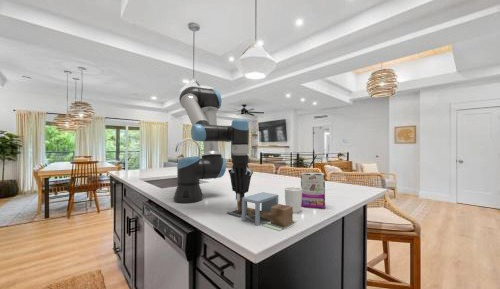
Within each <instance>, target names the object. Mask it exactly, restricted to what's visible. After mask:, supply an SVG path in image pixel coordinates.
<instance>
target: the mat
mask: <svg viewBox="0 0 500 289" xmlns="http://www.w3.org/2000/svg"><path fill="white" fill-rule="evenodd" d="M293 221H294V223H291V224H289V225H287V226H286V227H283V230H284V229H286V228H288V227H290V226H291V225H293V224H295V223H297V220H293ZM267 223H270V224H272V223H271V220H270V221H267ZM274 225H275V224H274ZM277 226H279V225H277ZM262 227H265V228H269V229H271V230H275V231H279V232H280V231H283V230H282V229H281V228H278V227H274V226H271V225H267V224H262ZM280 227H282V226H280Z"/></svg>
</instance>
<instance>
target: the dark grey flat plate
mask: <svg viewBox="0 0 500 289" xmlns="http://www.w3.org/2000/svg"><path fill="white" fill-rule="evenodd" d="M231 212H232V213H236V214H239V215H242V212H240V213H239V212H238V209H235V210H232V211H231ZM226 214H227V215H230V216H233V217H237V218H239V219H240V218H241V217H240V216H236V215H233V214H230V213H227V212H226ZM248 215H249V214H248V213H246V216H248Z"/></svg>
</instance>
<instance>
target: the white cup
mask: <svg viewBox="0 0 500 289" xmlns="http://www.w3.org/2000/svg"><path fill="white" fill-rule="evenodd" d="M301 203H302V189H301V187H296V186H295V187H294V186H293V187H292V186H290V187H285V188H284V205H286V206H291V207H293V213H295V214H298V213H300V212H302V207H301Z"/></svg>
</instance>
